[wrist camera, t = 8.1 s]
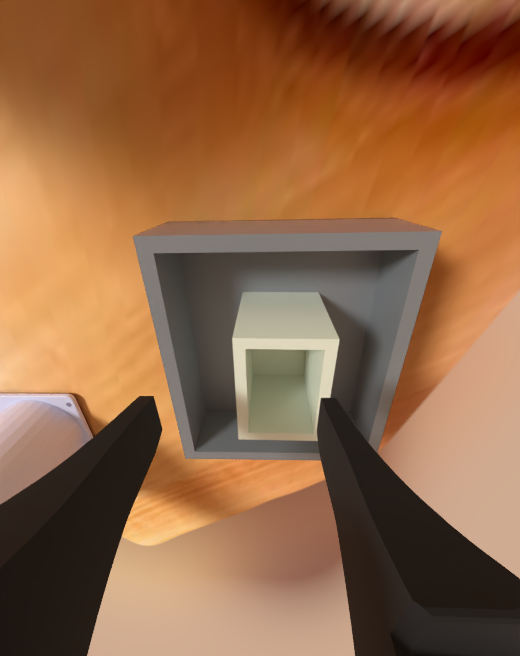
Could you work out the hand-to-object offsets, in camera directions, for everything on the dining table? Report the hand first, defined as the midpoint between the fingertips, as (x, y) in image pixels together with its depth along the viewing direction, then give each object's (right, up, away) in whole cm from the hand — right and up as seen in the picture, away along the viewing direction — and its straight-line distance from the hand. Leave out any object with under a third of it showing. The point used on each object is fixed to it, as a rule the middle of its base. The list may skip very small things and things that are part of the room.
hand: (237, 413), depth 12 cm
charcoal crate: (+2, +3, +9) cm, 10 cm away
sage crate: (+2, +3, +8) cm, 9 cm away
